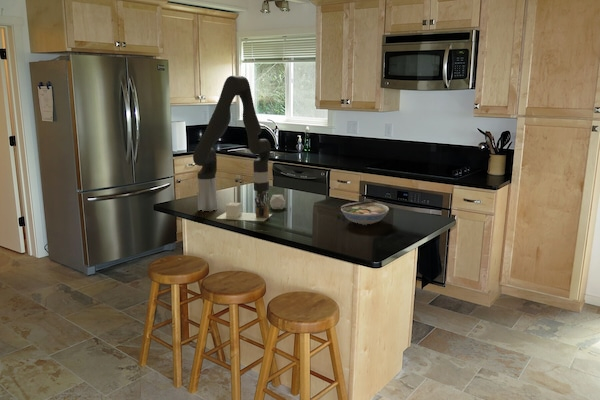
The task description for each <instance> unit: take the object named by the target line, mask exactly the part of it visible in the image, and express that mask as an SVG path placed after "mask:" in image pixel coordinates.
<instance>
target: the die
mask: <svg viewBox="0 0 600 400" xmlns="http://www.w3.org/2000/svg"><path fill="white" fill-rule="evenodd" d="M269 204H270V206H271V209H272V210H284V208H285V205H286V200H285V198H284V195H283V194H272V196H271V198H270V200H269Z"/></svg>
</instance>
